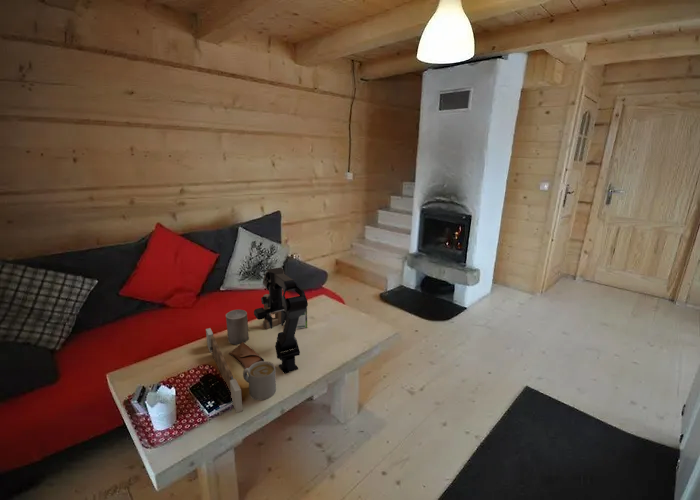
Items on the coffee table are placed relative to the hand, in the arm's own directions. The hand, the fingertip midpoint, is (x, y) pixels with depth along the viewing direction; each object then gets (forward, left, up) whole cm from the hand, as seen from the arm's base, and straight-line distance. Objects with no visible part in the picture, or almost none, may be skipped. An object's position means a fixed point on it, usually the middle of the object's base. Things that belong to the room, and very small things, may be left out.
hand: (276, 326), depth 157 cm
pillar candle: (+18, +13, -12) cm, 25 cm away
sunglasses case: (+1, +14, -13) cm, 19 cm away
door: (-5, +26, -12) cm, 29 cm away
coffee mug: (-22, +16, -12) cm, 30 cm away
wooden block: (+23, -7, -12) cm, 27 cm away
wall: (-5, +26, -12) cm, 29 cm away
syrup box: (+15, -19, -12) cm, 27 cm away
